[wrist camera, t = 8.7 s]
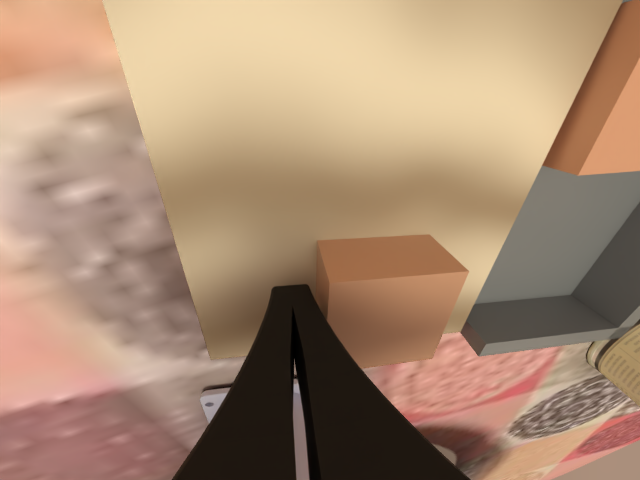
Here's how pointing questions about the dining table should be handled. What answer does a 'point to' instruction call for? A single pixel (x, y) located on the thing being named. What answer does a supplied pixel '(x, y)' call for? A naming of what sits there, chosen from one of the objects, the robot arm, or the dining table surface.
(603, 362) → the coffee can
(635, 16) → the tile right
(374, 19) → the board
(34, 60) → the dining table surface
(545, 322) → the tray
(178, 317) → the dining table surface
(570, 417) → the dining table surface
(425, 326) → the tile left
